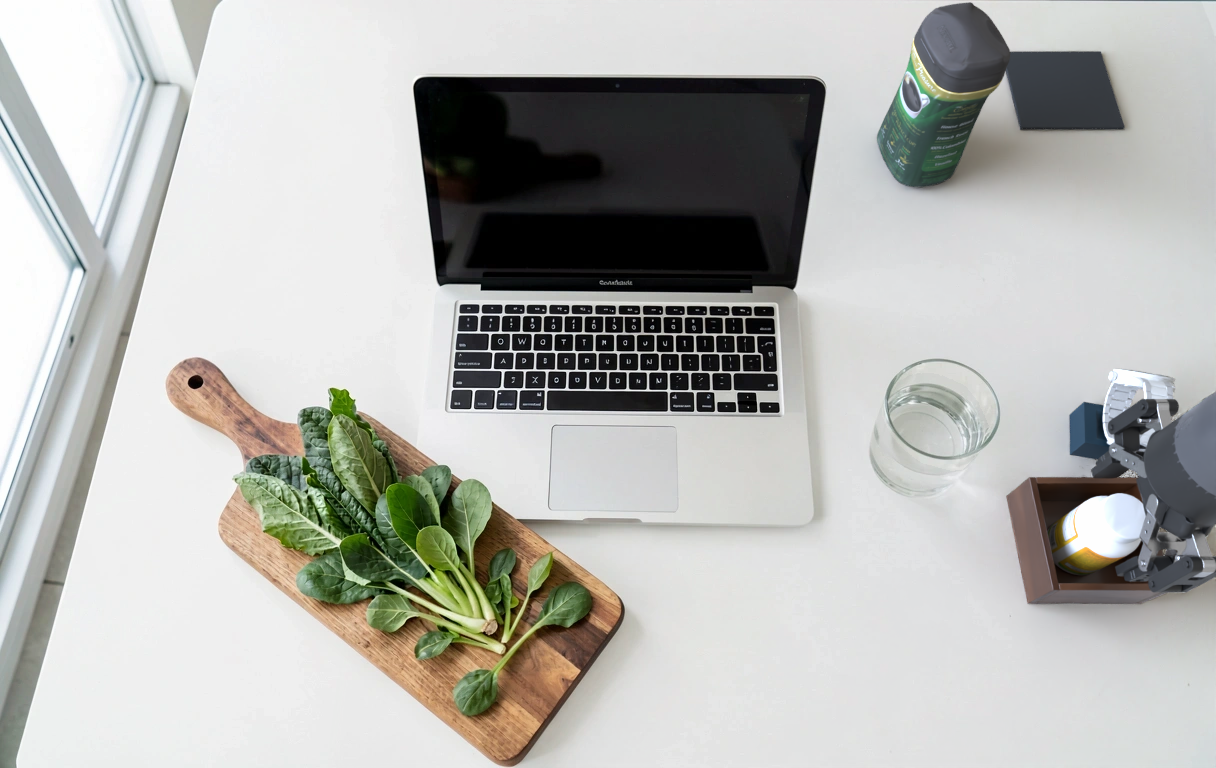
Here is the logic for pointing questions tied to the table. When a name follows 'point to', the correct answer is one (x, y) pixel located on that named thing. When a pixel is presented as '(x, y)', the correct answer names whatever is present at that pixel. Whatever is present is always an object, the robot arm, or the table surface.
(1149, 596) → the wooden box
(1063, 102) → the mat
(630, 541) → the table surface
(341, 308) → the table surface
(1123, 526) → the supplement bottle
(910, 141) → the coffee jar
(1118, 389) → the watch
